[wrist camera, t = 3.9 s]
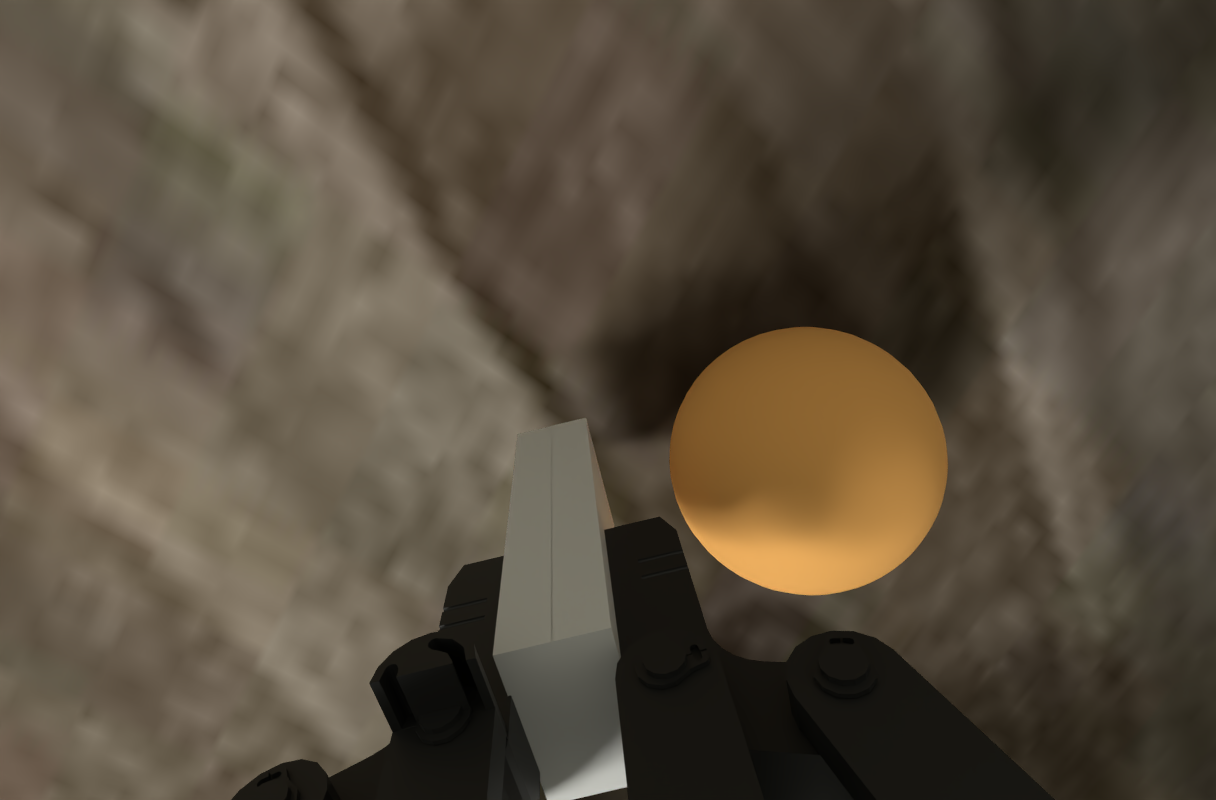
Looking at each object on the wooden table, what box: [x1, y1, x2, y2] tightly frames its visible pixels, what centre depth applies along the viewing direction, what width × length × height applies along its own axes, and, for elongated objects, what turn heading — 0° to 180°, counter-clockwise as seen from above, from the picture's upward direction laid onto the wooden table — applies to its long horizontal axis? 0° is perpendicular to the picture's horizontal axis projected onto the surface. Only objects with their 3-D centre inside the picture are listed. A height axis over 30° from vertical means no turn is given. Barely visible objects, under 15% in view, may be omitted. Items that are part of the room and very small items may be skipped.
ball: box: [669, 327, 948, 595], centre depth 14 cm, size 6×6×6 cm
